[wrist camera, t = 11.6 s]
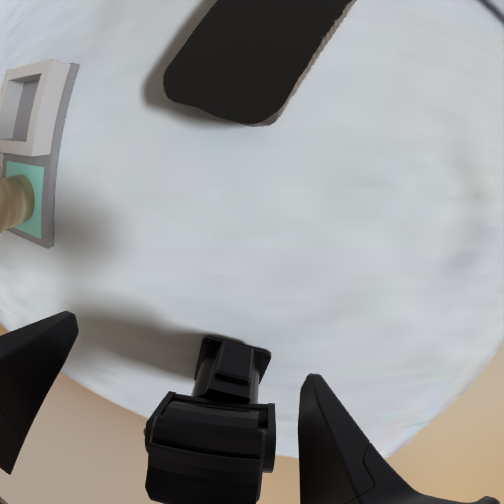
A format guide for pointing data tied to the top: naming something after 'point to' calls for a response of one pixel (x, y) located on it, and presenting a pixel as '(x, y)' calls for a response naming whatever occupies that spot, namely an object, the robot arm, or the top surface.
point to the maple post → (15, 201)
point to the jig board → (35, 136)
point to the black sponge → (252, 56)
